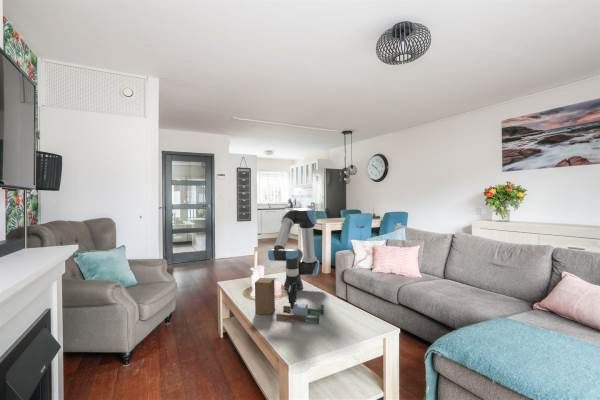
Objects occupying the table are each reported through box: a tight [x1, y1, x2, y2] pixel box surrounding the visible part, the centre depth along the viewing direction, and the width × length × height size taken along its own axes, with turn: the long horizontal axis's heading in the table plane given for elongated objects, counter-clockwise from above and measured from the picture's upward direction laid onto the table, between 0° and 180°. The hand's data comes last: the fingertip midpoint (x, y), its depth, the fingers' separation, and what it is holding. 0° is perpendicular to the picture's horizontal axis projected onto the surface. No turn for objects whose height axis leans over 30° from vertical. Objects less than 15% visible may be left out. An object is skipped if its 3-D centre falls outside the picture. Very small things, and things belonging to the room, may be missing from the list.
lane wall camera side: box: [275, 312, 320, 325], centre depth 166 cm, size 1×26×6 cm, turn 73°
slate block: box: [292, 302, 309, 317], centre depth 171 cm, size 7×7×7 cm
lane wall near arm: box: [282, 303, 325, 316], centre depth 178 cm, size 1×26×6 cm, turn 73°
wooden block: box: [254, 277, 276, 316], centre depth 180 cm, size 10×10×20 cm
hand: (292, 313), depth 173 cm, fingers closed
